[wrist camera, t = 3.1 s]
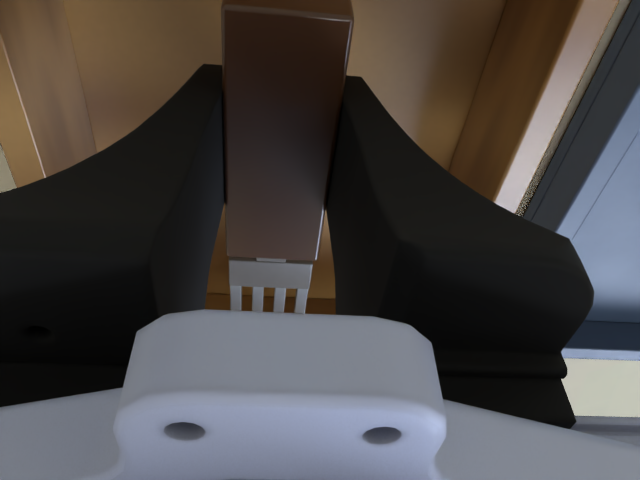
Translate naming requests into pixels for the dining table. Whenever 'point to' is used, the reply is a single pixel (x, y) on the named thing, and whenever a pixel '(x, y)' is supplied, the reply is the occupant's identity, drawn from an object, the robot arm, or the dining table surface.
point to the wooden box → (364, 60)
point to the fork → (279, 138)
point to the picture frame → (602, 198)
